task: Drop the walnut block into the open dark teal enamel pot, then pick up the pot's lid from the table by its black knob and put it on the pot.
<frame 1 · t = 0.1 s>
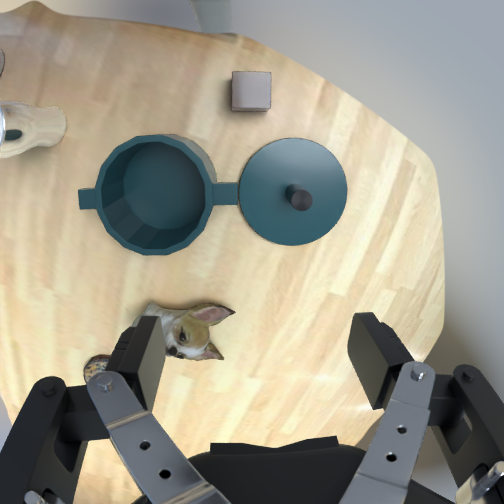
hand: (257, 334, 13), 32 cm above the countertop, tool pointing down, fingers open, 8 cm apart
lid: (294, 192, 42), point 1 cm above the countertop
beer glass: (51, 126, 37), on the countertop
burger: (114, 378, 53), on the countertop
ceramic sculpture: (183, 319, 49), on the countertop
block: (249, 94, 38), on the countertop
pot: (166, 185, 42), on the countertop
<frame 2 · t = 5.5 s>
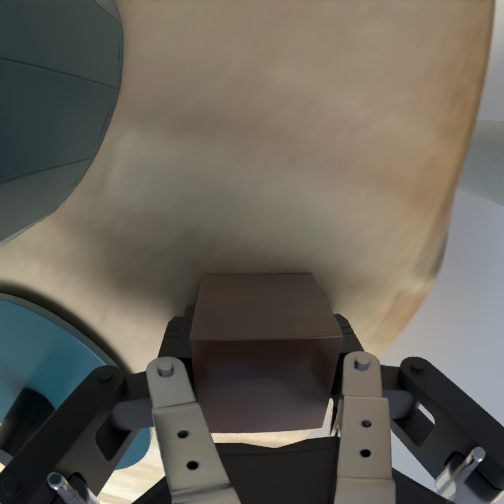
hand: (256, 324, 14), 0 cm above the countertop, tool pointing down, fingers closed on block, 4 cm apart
lid: (41, 397, 15), point 1 cm above the countertop
block: (256, 319, 14), on the countertop, touching gripper
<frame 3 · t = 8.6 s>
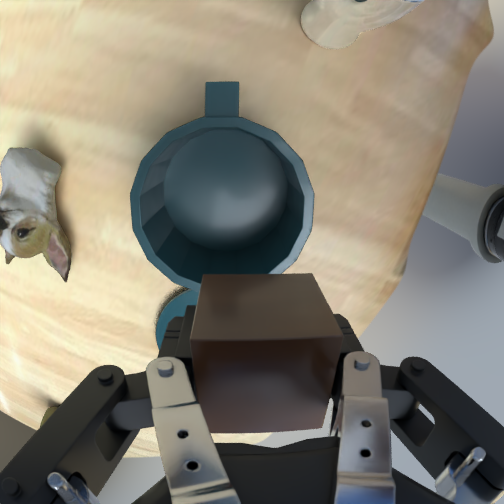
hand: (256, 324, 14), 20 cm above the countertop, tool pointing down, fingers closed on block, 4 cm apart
lid: (218, 339, 36), point 1 cm above the countertop
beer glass: (329, 24, 25), on the countertop
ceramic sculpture: (44, 206, 31), on the countertop
block: (257, 320, 14), point 19 cm above the countertop, touching gripper
pot: (225, 191, 31), on the countertop
when the fingers open (8 cm above the countertop, at t = 11.8 s): block drops 7 cm, resting on pot.
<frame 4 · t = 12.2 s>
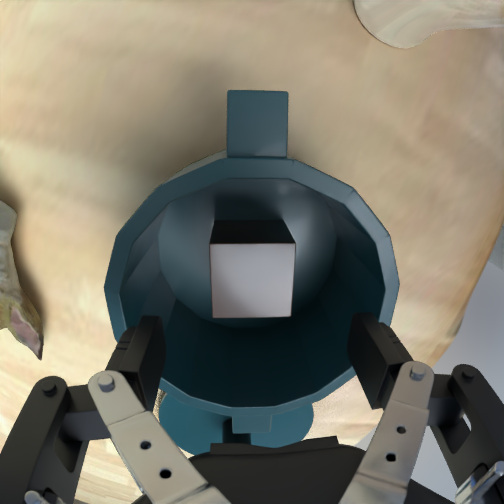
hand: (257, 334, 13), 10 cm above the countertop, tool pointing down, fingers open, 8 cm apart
lid: (236, 421, 27), point 1 cm above the countertop
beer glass: (391, 12, 16), on the countertop
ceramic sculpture: (4, 261, 21), on the countertop
block: (248, 252, 22), resting on pot
pot: (247, 249, 22), on the countertop
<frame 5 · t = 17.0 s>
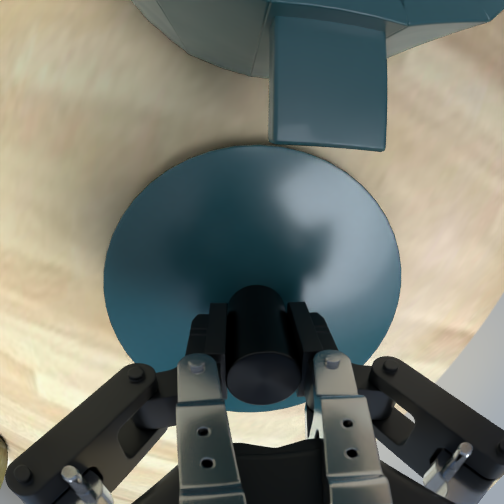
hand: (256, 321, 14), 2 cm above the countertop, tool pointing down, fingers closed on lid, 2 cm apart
lid: (255, 303, 15), point 1 cm above the countertop, touching gripper
when the fingers open (10 cm above the countertop, at t = 23.9 s): lid stays where it is, resting on pot.
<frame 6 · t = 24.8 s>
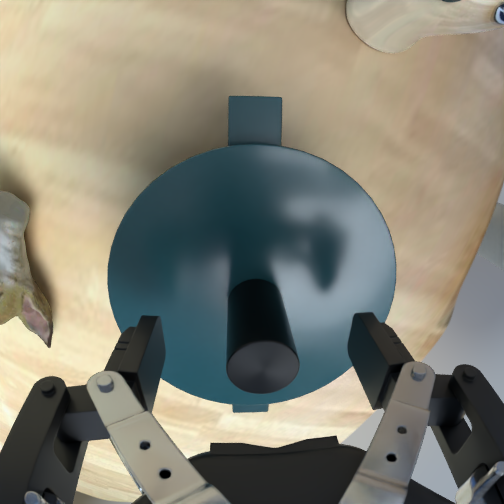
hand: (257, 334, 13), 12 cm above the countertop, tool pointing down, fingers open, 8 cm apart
lid: (254, 296, 16), point 8 cm above the countertop, touching pot
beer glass: (381, 19, 18), on the countertop
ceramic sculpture: (16, 254, 23), on the countertop
pot: (247, 241, 24), on the countertop
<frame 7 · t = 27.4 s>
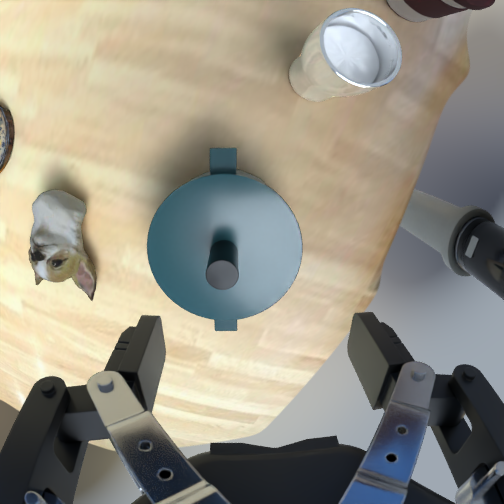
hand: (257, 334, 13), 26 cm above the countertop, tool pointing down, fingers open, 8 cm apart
coffee cup: (406, 0, 28), on the countertop
lid: (224, 251, 30), point 8 cm above the countertop, touching pot
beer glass: (314, 77, 32), on the countertop
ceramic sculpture: (70, 236, 38), on the countertop
pot: (226, 226, 38), on the countertop
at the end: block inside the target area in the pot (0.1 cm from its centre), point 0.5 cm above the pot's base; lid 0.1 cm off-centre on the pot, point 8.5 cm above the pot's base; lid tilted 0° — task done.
